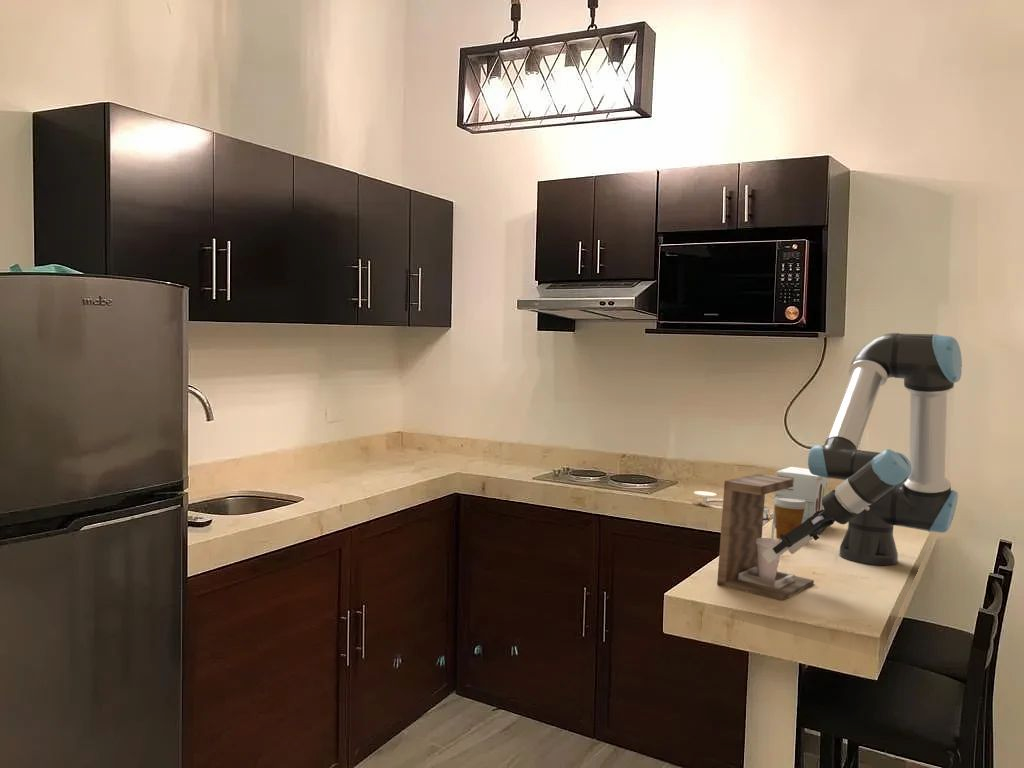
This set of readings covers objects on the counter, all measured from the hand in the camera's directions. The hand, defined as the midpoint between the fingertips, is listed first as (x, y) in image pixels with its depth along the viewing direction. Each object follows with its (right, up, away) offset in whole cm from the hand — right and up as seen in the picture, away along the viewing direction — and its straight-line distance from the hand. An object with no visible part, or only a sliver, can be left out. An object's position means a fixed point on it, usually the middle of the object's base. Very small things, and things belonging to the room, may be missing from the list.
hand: (777, 554), depth 208 cm
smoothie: (-2, -7, +2) cm, 7 cm away
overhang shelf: (-2, -8, +2) cm, 8 cm away
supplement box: (+30, -6, +76) cm, 82 cm away
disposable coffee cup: (+20, -6, +56) cm, 59 cm away
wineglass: (+5, -6, +39) cm, 39 cm away
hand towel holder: (+12, -3, +105) cm, 105 cm away
